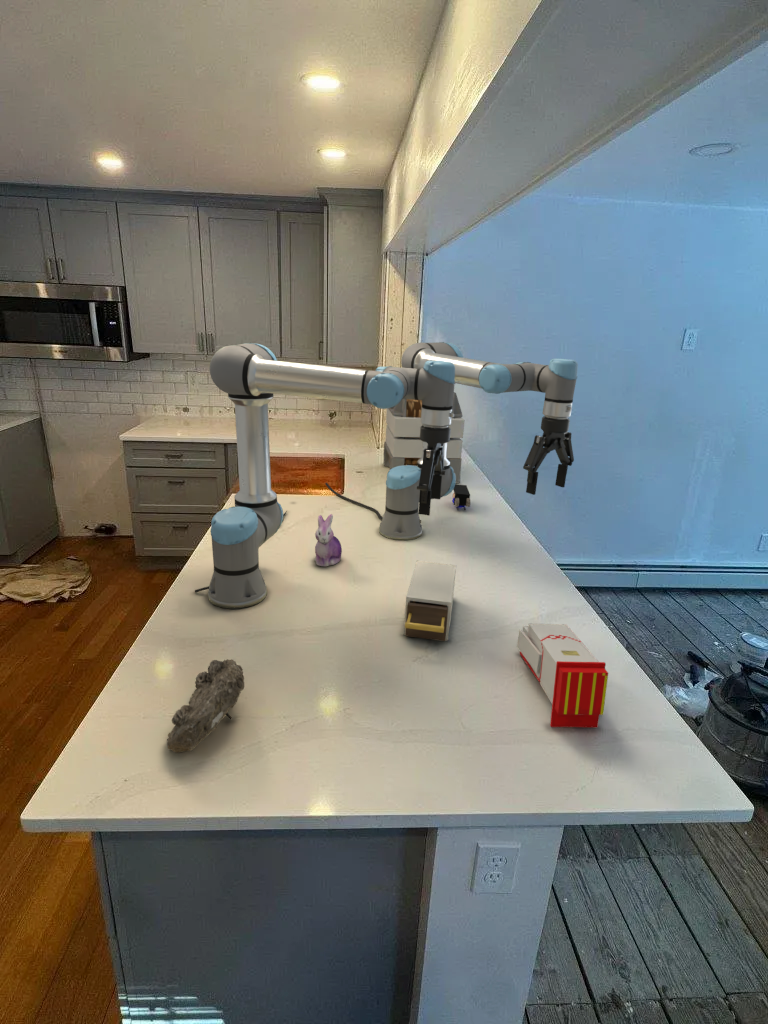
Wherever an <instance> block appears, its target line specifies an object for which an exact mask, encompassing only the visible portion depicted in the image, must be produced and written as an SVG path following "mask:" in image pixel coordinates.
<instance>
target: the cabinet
mask: <svg viewBox="0 0 768 1024" xmlns="http://www.w3.org/2000/svg"><path fill="white" fill-rule="evenodd" d="M456 573H457V564H451V563H450V564H449V563H440V562H432V561H425V560H416V562H415V566H414V568H413V572H412V575H411V579H410V582H409V586H408V589H407V593H406V595H405V609H404V610H405V611H404V625H403V626H404V627H403V635H404V636H405V634H406V628H405V622H406V618H407V604H408V602H409V603H412V601H416V602H424V603H432V604H440V605H447V607H448V616H447V627H446V638H445V642H446V641H447V642H448V641H449V634H450V628H451V627H450V626H451V619H452V610H453V603H454V594H455V593H454V592H455V585H456V584H455V583H456Z"/></svg>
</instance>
